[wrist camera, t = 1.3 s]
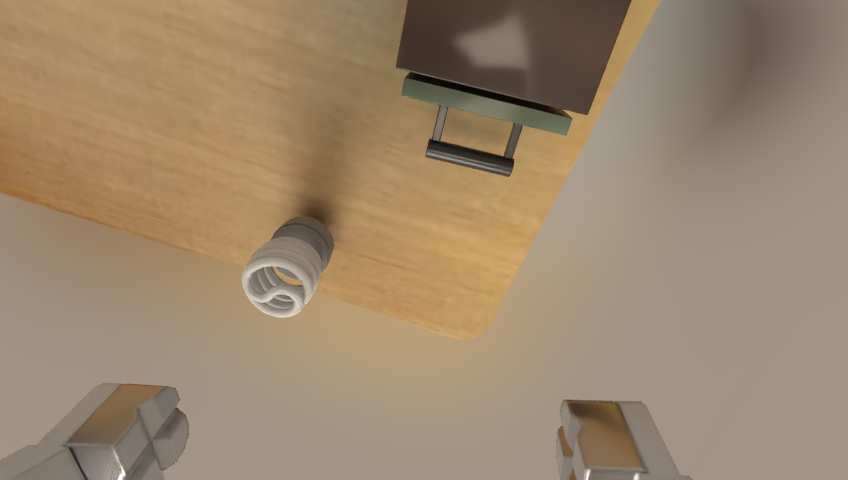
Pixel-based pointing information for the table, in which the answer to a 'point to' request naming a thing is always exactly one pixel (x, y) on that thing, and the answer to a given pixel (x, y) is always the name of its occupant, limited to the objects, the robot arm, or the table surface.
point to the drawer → (487, 106)
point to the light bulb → (288, 267)
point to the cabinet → (515, 46)
